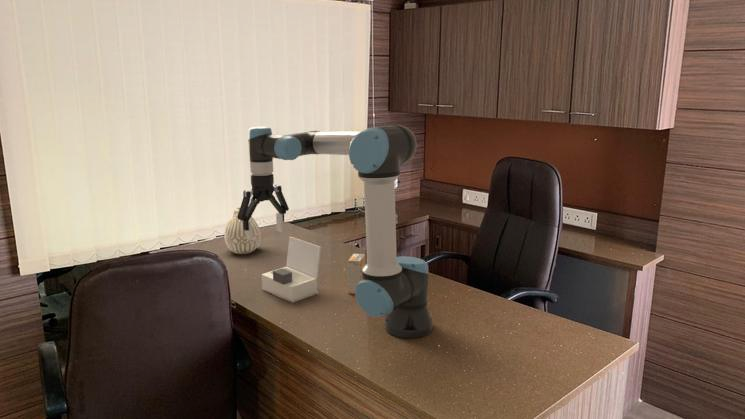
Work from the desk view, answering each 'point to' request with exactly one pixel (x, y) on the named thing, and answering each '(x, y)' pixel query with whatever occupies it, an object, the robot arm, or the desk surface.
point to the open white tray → (291, 286)
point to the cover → (303, 256)
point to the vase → (241, 235)
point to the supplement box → (355, 271)
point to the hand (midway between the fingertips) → (264, 235)
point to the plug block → (282, 276)
